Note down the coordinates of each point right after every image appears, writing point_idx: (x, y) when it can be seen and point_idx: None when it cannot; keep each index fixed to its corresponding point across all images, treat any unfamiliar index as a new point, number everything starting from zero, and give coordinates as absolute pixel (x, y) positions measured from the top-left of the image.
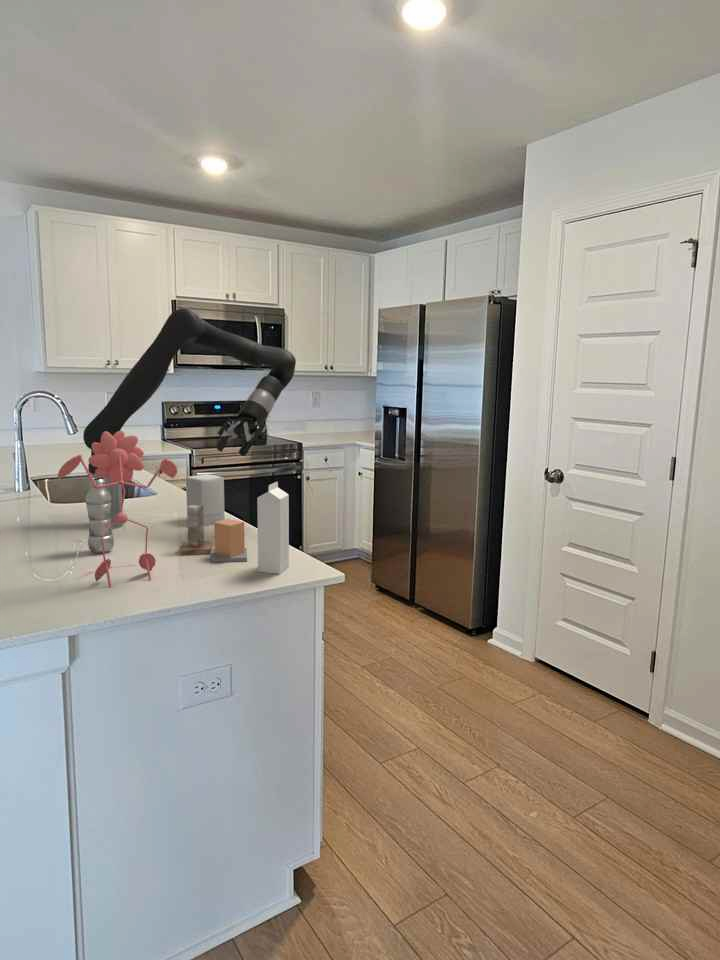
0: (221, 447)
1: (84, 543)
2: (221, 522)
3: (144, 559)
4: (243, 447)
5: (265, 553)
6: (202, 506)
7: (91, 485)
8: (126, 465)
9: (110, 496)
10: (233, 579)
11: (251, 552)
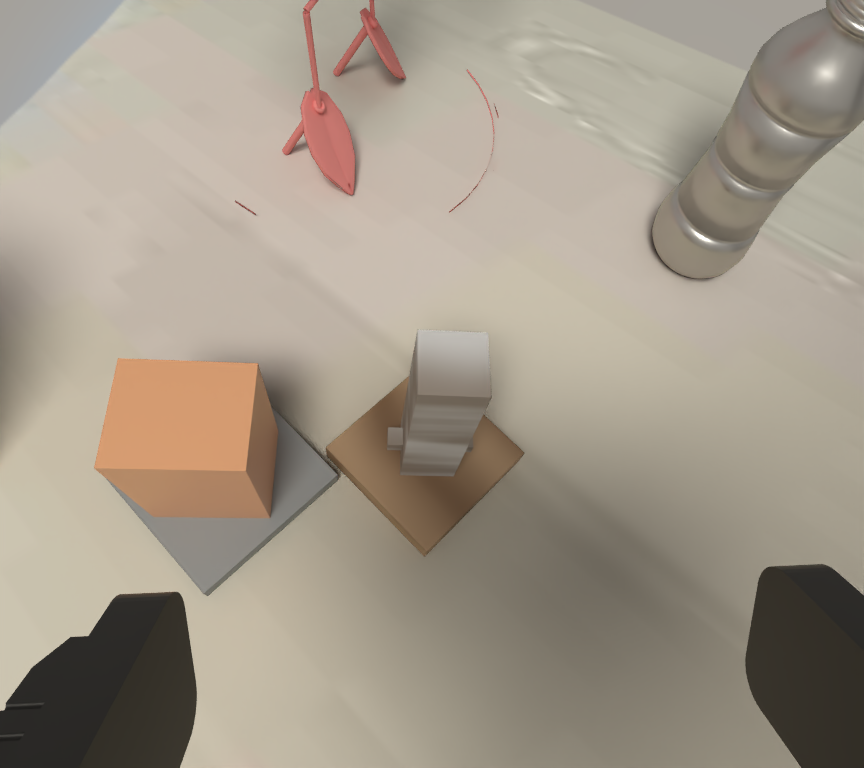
0: (791, 677)
1: (833, 282)
2: (218, 384)
3: (325, 118)
4: (62, 689)
5: None
6: (417, 388)
7: None
8: None
9: (795, 97)
10: (20, 282)
11: None
